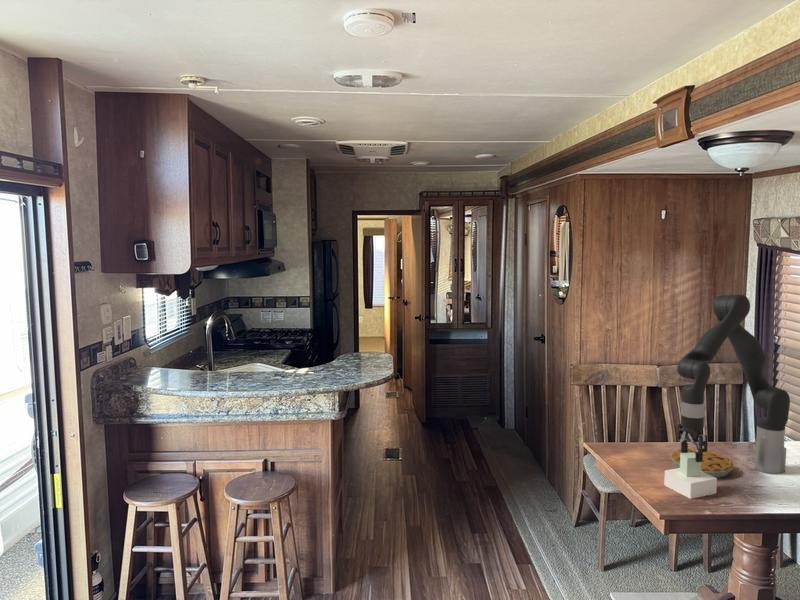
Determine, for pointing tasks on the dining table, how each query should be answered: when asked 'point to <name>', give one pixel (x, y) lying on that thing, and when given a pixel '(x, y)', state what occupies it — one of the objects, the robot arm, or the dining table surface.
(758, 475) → the dining table surface
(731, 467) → the pie
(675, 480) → the base box
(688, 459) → the sage block
